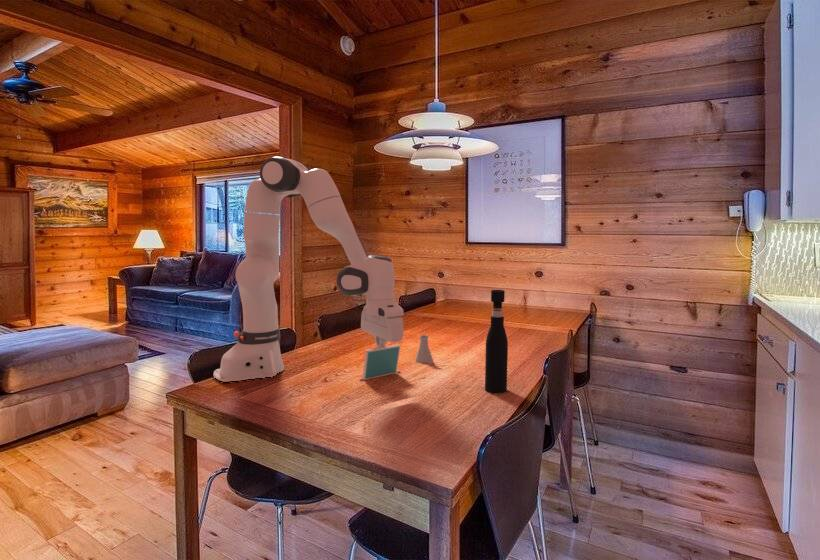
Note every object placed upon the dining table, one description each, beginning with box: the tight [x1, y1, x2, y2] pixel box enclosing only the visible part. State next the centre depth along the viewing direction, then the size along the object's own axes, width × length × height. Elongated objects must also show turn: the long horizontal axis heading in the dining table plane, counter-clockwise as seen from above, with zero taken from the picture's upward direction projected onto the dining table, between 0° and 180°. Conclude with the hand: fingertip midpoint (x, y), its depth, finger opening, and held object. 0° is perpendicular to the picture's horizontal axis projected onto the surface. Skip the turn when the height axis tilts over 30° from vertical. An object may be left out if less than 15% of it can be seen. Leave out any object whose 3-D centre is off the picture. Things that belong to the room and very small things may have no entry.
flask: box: [414, 334, 435, 366], centre depth 167 cm, size 7×7×10 cm
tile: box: [361, 343, 401, 381], centre depth 148 cm, size 12×1×10 cm, turn 124°
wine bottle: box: [484, 289, 509, 394], centre depth 139 cm, size 6×6×30 cm
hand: (380, 350), depth 149 cm, fingers closed
